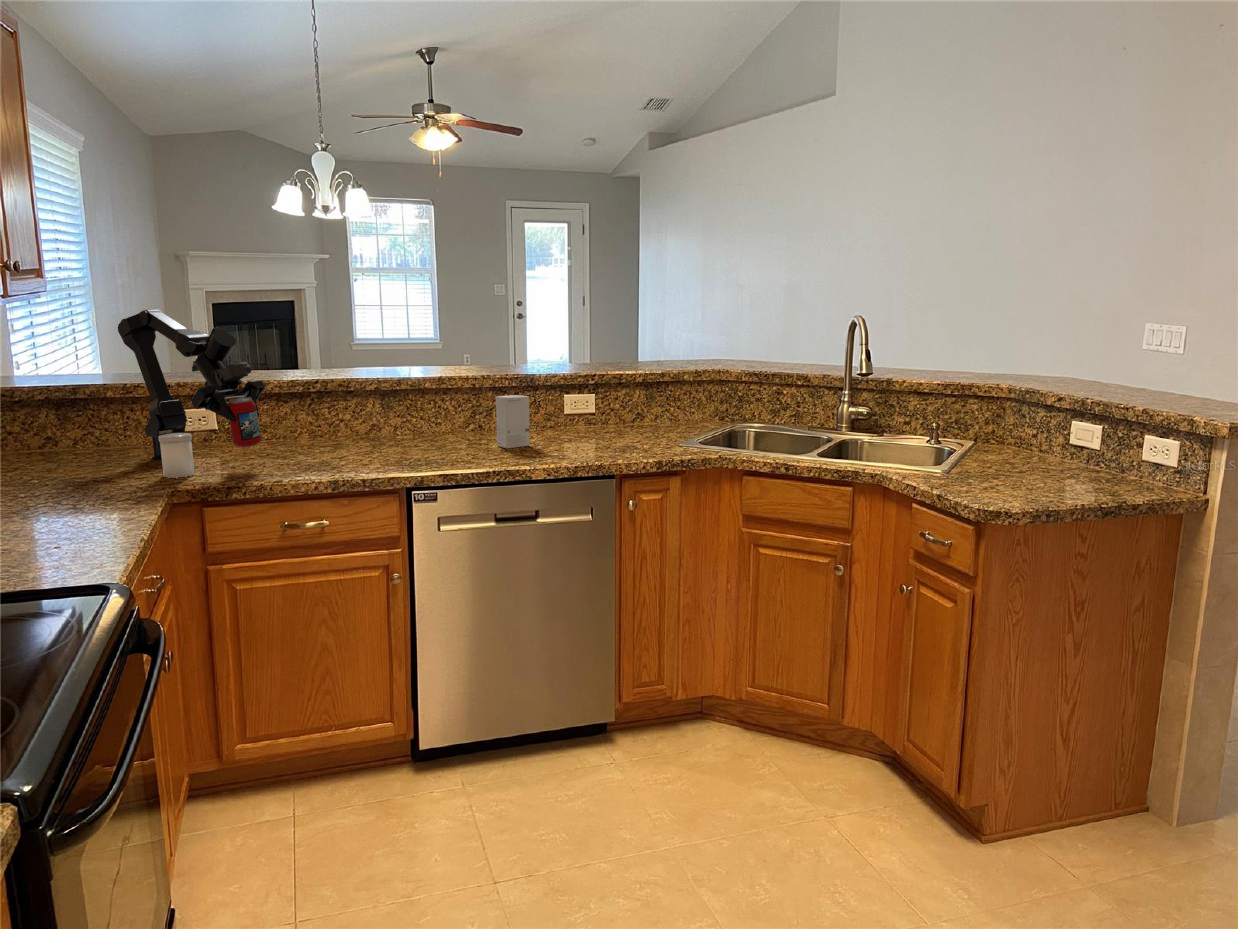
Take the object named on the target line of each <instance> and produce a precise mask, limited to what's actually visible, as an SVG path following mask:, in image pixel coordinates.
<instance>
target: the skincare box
mask: <svg viewBox="0 0 1238 929" xmlns="http://www.w3.org/2000/svg"><path fill="white" fill-rule="evenodd" d="M495 414H496V416H495V417H496V419H495V420H496V422H495V423H496V446H498V447H500V448H504V449H507V450H509V449H513V448H515V449H516V448H520V447H529V446H531V445H530V396H527V395H521V394H517V395H516V394H515V395H514V394H512V395H498V396H497V395H496V396H495Z"/></svg>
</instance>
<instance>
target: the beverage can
mask: <svg viewBox="0 0 1238 929" xmlns="http://www.w3.org/2000/svg"><path fill="white" fill-rule="evenodd" d="M227 405H228V406H229V408H230V409H231V411H232V412H233V414H234V416H235V418H236V421H235V422H232V421H230V420H229V425H230V431H231V437H232V441H233V445H234V446H237V447H238V448H250V447H251V448H252V447H254V446H258V445H259V443H260V442H262V435H261V434H262V433H261V428H260V423H259V417H258V416H257V410H256V404H255V403H254V402H253V400H252V398H250V397H234V398H230V399H229V402H228V403H227Z"/></svg>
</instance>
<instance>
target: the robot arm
mask: <svg viewBox="0 0 1238 929" xmlns="http://www.w3.org/2000/svg"><path fill="white" fill-rule="evenodd" d="M117 331H118V334H119V335H120V338H121V340H122V342H123V344H124V345H125V346H126V347H127V348H128V349H129V350H131V351H132V352H133V353H134V355H135V358H136V361H137V362H136V363H137V364H138V367H139V370H140V372H141V376H142V378H143V381H144V384H145V386H146V390H147V392H148V395H149V399H150V400H151V404H150V406H149V410H148V414H149V418H150V419H148V421H147V423H146V426H145V427H144V432H145V435H146V437H149V438H150V437H151V440H152V449H153V456H151V459H162V457H161V447H160V442H159V436H160V435H164V434H172V433H186V427H187V426H186V425H187V415H186V414H187V411H186V410H185V409H184V406H183V402H182V400H180V399H175V398H173V396H172V395H171V392H170V390H169V386H168V385H167V381H166V378H165V376H164V373H163V371H162V367H161V365H160V361H159V359H158V356H157V353H156V350H155V346H154V345H155V342H156V338H157V335H156V332H158V333H159V334H161V335H162V336H163V337H165V338H167V339H168V340H170V341H171V342H173V343H174V344H175V349H176V350H177V351H178V352H179V353H180V354H181V355H182V356H183V357H186V358H191V357H192V358H193V357H196V358H195V360H192V366H191V371H192V372H199V373H200V374H201V375H202V377H203V379H204V380H205V382H204V386H199V387H198V388H197V390H195V393H194V395H193V396H192V399H191V404H192V406H193V407H194V409H196V410H202V409H205V411H211V412H212V413H215V414H216V415H219V416H221V417H222V418H225V419H227V420H228V421H229V422H230V421H232V422H235V421H236V418H235V416H234V414H233V412H232V411H231V409H230V408H229V406H228V403H227V402H226V399H233V398H241V397H250V398H252V400H253V402H254V403H255V404H256V410H257V416H258V418H259V417H260V413H259V408H258V404H257V400H259V398H260V397H261V395H262V394H263V392H264V391H265V389H266V388H267V387H266V385H265V383H264V382H263V381H262V380H258V379H257V380H256V379H255V380H250V381H247V382H246V383H245V385H244V386H243V387H240V388H239V386H240V385H242V379H244V378H245V377H248V376H249V374H252V368H251V365H250V364H249V363H248V362H247V361H241V362H239V363H235V364H229V365H227V366H225V365H224V364H223V361H226V360H227V359H228V358H229V355H230V354H231V352H232V351H233V349H234V347H235V345H236V344H237V340H236V338H235V336H234V335H232V334H230V333H229V332H228V331H224V330H222V328H221V327H213V328H212V329H211V331H210V333H209V334H207V333H204V332H201V331H198V330H193V329H188V328H187V327H185V326H184V325H183V324H180V323H179V322H178V321H176V320H175V319H173V318H171V317H170V316H168V315H167V314H166V313H164V311H163V310H161V309H159V308H157V309H144V310H141V311H140V312H138V313H137V314H134V315H131V316H128V317H125V318H122V319H121V321H120V322H119V324H117Z"/></svg>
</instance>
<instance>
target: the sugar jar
mask: <svg viewBox="0 0 1238 929" xmlns="http://www.w3.org/2000/svg"><path fill="white" fill-rule="evenodd" d="M192 436H193V435H192V433H189V432H185V433H172V434H164V435H160V436H159V442H160V447H161V457H162V458H161V464H162V473H163V478H164V477H168V478H167V479H169V478H176V477H185V476H190V477H193V476H195V475H194V473H195V466H194V455H193V445H192V439H193V437H192ZM192 475H193V476H192ZM185 478H186V477H185ZM176 479H177V478H176Z"/></svg>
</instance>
